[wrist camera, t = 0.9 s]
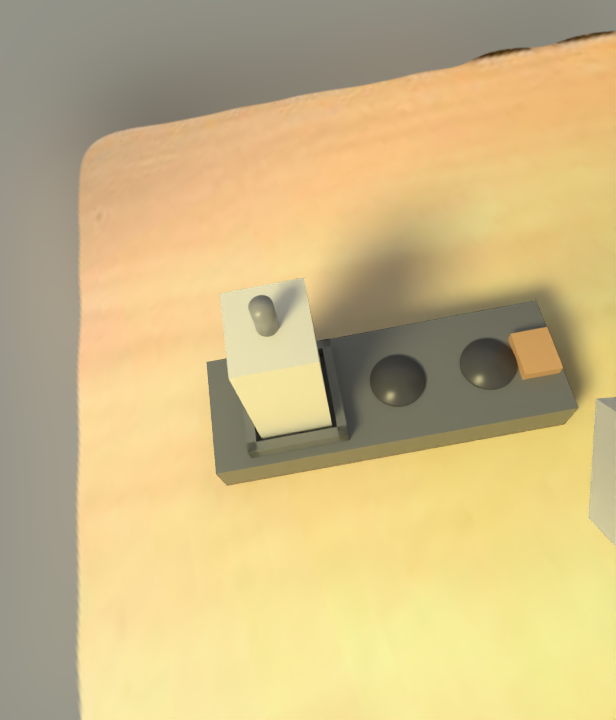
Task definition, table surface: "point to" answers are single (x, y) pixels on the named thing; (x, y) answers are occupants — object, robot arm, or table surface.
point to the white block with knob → (275, 358)
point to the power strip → (407, 394)
